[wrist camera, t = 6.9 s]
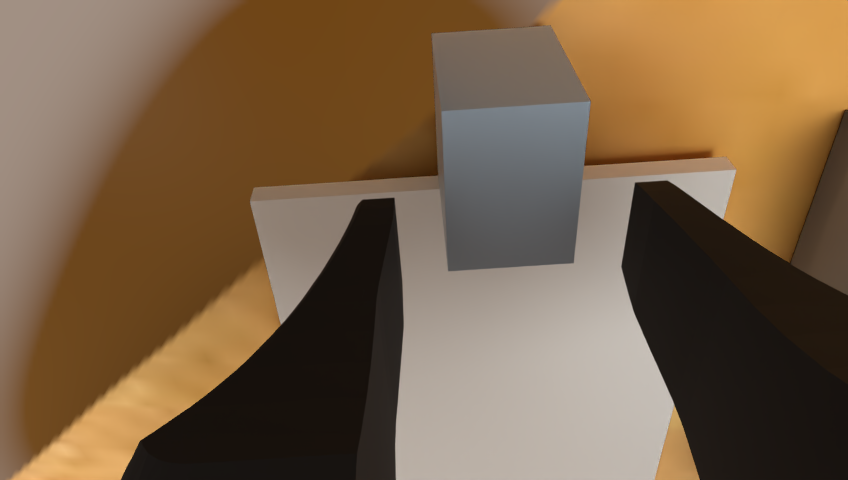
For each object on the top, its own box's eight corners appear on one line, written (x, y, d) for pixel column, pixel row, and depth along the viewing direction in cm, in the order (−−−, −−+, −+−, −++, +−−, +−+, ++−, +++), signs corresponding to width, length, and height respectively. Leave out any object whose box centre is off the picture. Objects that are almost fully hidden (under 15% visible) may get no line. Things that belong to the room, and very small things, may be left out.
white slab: (635, 476, 26) (673, 594, 22) (335, 495, 26) (326, 616, 22) (746, -1, 15) (856, 83, 11) (226, 33, 15) (176, 128, 11)
